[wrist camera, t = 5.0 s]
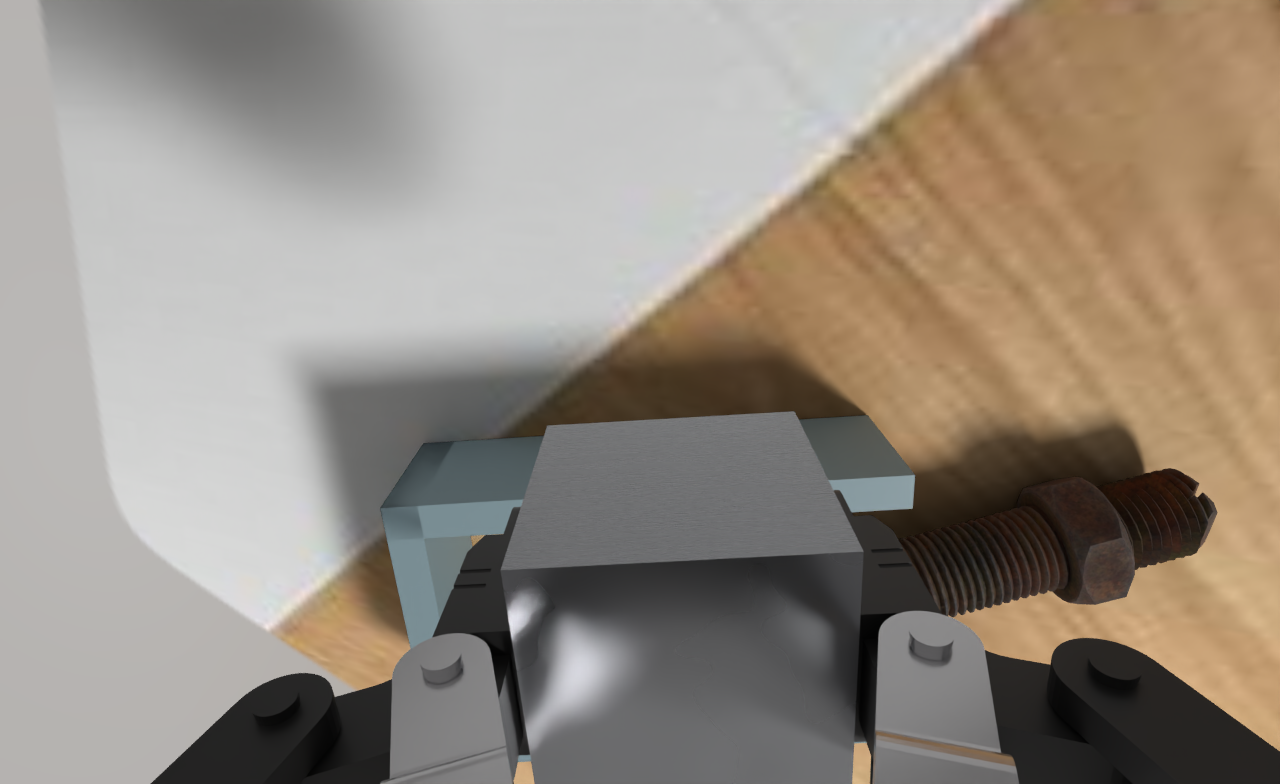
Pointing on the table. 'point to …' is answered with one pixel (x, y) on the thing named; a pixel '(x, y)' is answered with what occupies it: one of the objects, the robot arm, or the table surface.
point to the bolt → (1063, 542)
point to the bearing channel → (498, 479)
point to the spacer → (685, 605)
